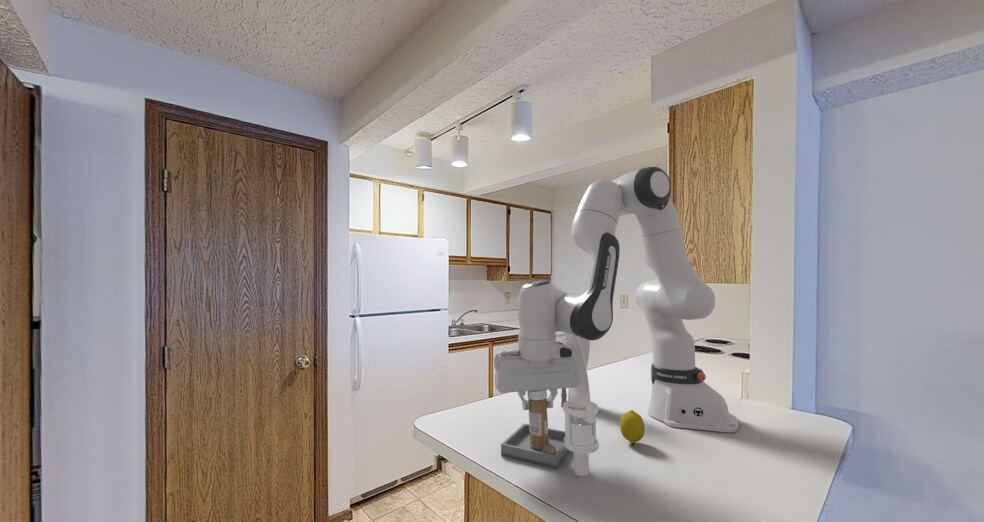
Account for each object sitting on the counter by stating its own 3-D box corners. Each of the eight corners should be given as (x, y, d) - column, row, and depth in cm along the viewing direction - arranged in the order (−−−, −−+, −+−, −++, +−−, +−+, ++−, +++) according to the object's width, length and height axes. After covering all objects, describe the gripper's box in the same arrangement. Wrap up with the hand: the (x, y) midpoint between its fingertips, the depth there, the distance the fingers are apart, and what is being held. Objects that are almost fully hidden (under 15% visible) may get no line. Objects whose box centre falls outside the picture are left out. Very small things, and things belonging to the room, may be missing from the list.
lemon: (644, 440, 94) (643, 407, 94) (645, 450, 89) (644, 415, 89) (620, 437, 96) (619, 405, 96) (620, 447, 90) (619, 413, 91)
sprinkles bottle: (553, 446, 89) (550, 389, 89) (538, 452, 87) (535, 393, 87) (540, 439, 93) (538, 384, 93) (525, 445, 91) (523, 388, 91)
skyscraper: (571, 399, 124) (570, 313, 125) (595, 404, 120) (593, 315, 120) (560, 407, 118) (558, 316, 118) (585, 413, 113) (583, 318, 114)
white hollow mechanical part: (577, 485, 75) (576, 407, 75) (557, 468, 81) (556, 397, 81) (606, 476, 77) (605, 402, 78) (584, 461, 84) (583, 392, 84)
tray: (574, 443, 92) (574, 433, 92) (556, 468, 81) (556, 457, 81) (524, 433, 99) (524, 423, 99) (501, 455, 87) (500, 444, 87)
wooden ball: (558, 457, 85) (558, 443, 85) (553, 463, 82) (553, 449, 82) (545, 454, 86) (545, 440, 86) (540, 460, 83) (540, 446, 83)
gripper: (497, 354, 85) (497, 416, 85) (582, 349, 89) (583, 409, 89) (491, 348, 91) (491, 407, 91) (571, 344, 95) (572, 400, 95)
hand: (537, 408), depth 90 cm, fingers closed on sprinkles bottle, 4 cm apart
